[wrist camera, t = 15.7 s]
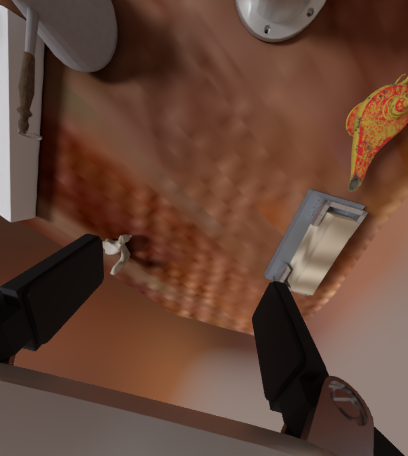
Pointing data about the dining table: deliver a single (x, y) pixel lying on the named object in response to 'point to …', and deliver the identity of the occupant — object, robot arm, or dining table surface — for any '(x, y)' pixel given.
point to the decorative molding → (8, 122)
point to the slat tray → (301, 229)
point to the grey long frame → (314, 220)
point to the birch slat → (319, 251)
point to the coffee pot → (64, 41)
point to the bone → (116, 247)
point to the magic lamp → (375, 126)
